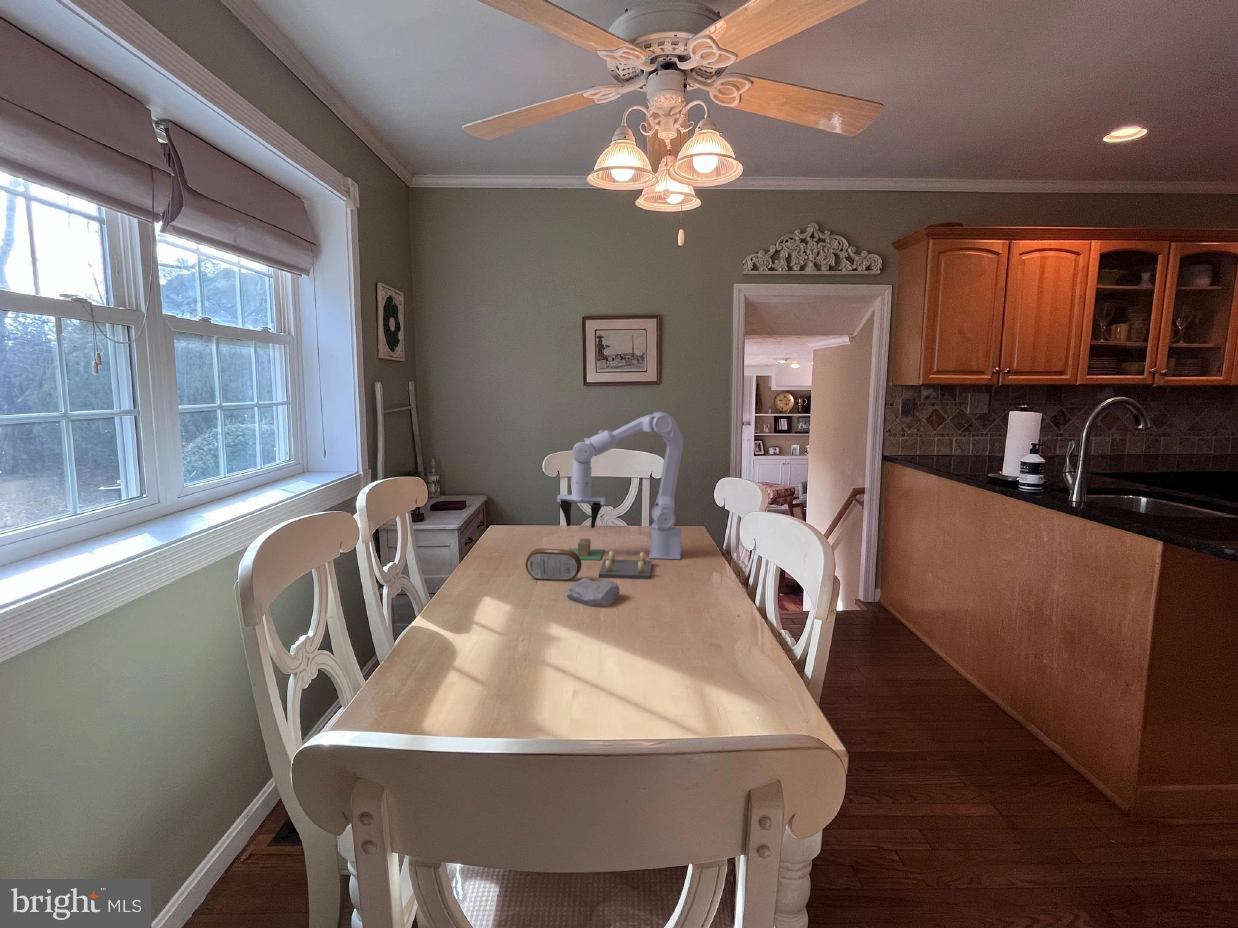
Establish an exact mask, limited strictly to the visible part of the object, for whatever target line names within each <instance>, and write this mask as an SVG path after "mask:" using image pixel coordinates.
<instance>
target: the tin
mask: <svg viewBox="0 0 1238 928" xmlns="http://www.w3.org/2000/svg"><path fill="white" fill-rule="evenodd" d="M525 569H526V572H527V573H528V574H529V576H530V577H532V578H533V579H535V580H538V581H553V582H554V581H556V582H557V581H558V582H570V581H572V580H574V579H575V578H576V577H577V576H578V575H579V573H580V572H581V569H582V560H580V557H579V556H578V555H577V554H576V553H575V552H574V551H571V550H569V549H566V548H564V549H563V548H542V547H540V548H534V549H533V550H531V551H530V552H529V554H528V556H527V558H526V560H525Z"/></svg>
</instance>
